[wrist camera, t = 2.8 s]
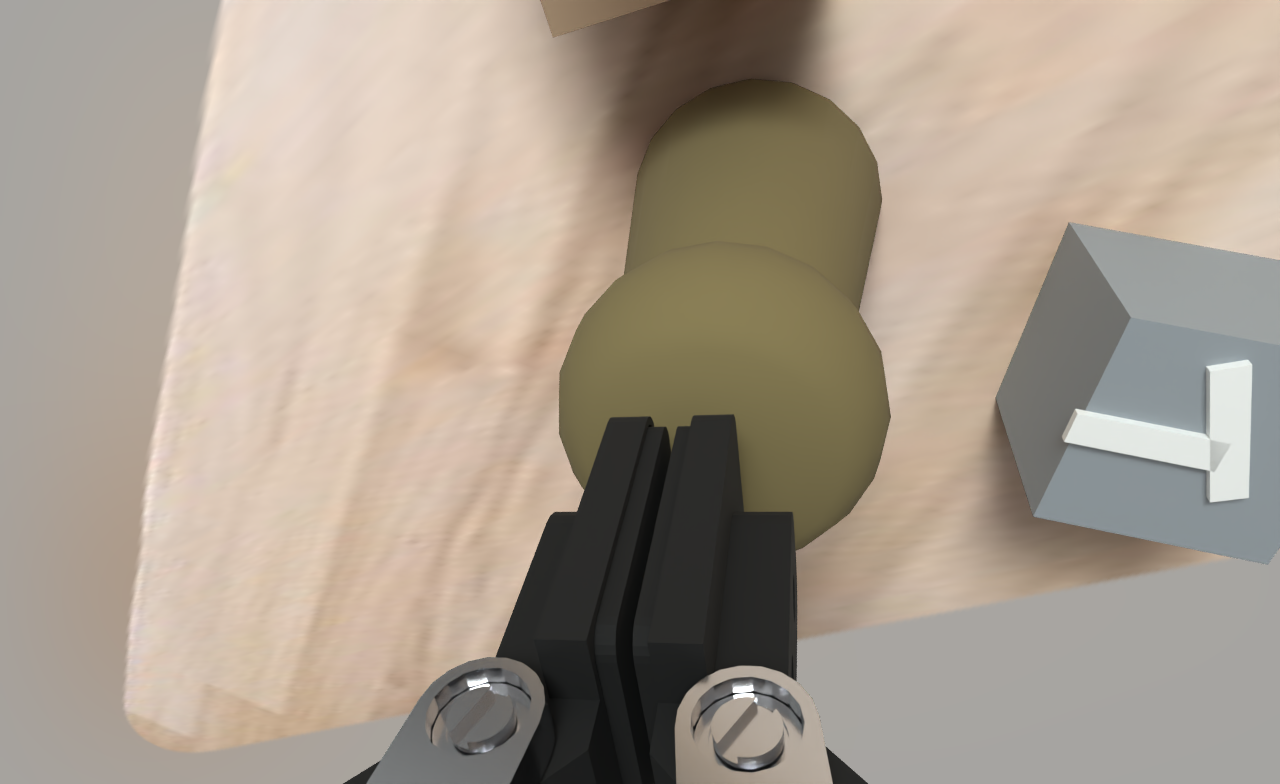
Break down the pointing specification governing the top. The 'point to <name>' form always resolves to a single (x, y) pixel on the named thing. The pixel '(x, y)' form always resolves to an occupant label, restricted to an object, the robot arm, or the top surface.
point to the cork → (746, 301)
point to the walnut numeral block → (588, 12)
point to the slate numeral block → (1152, 393)
